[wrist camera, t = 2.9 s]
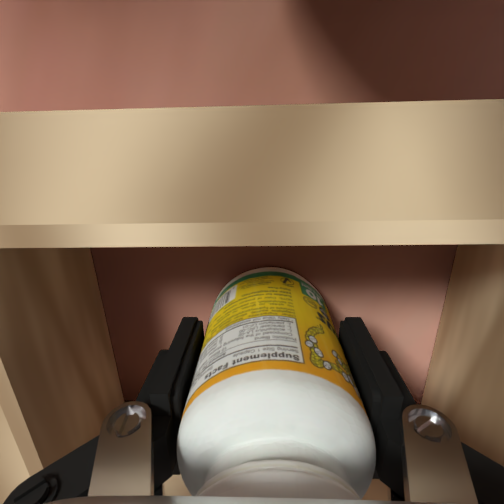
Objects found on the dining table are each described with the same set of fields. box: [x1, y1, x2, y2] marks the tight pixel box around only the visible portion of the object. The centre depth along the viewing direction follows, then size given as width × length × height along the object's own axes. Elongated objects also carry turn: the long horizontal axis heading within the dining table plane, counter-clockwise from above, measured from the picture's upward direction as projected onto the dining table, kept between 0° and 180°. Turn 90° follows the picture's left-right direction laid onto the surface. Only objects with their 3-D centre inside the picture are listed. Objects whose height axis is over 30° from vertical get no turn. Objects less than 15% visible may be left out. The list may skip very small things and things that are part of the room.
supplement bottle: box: [177, 267, 376, 500], centre depth 10 cm, size 5×5×10 cm
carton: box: [0, 99, 504, 504], centre depth 12 cm, size 22×17×6 cm
